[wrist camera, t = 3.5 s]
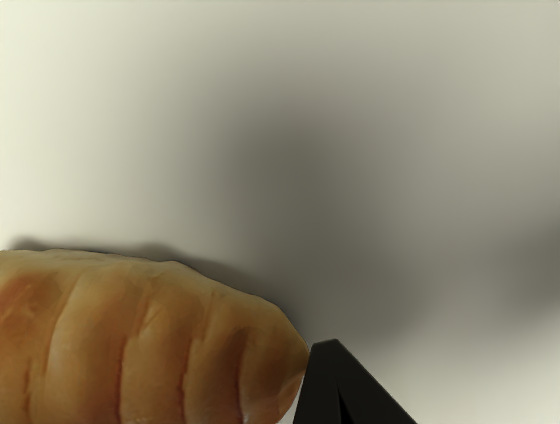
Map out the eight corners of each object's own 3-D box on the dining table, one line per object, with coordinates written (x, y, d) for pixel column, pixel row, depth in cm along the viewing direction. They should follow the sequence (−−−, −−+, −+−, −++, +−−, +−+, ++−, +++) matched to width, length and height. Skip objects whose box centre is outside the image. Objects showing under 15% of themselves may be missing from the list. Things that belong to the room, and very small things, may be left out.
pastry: (311, 246, 9) (342, 337, 5) (292, 404, 11) (306, 546, 7) (-10, 233, 8) (-231, 326, 5) (37, 402, 10) (-86, 558, 7)
